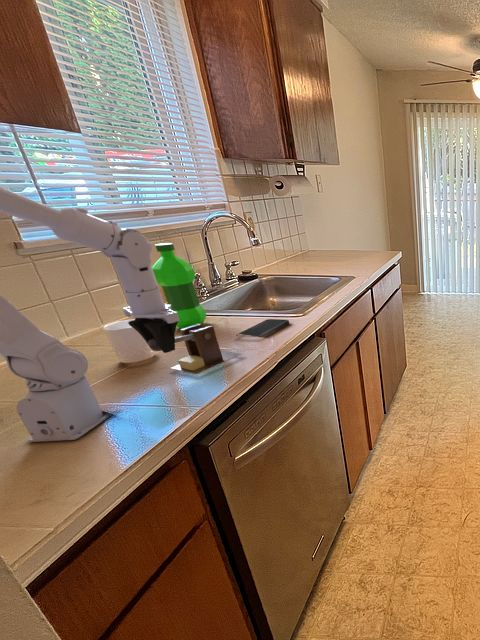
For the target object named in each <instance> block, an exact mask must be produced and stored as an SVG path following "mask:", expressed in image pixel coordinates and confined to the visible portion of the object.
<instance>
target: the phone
mask: <svg viewBox="0 0 480 640" xmlns="http://www.w3.org/2000/svg"><path fill="white" fill-rule="evenodd" d="M289 325H290V320H288V319H277V318H276V319H275V318H268V319H265V320H263V321H261V322H258V323H257V324H255V325H253V326H251V327H248V328H247V329H245V330H243V331H241V332H239V333H237V334H235V336H236V337H239V335H242V336H248V337H249V338H251V337H253V338H263V339H266V338H267V337H269V336H271V335H272V334H274V333H276V332H278V331H280V330H282V329H283V328H285V327H287V326H289Z"/></svg>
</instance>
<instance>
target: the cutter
mask: <svg viewBox="0 0 480 640" xmlns="http://www.w3.org/2000/svg"><path fill="white" fill-rule="evenodd" d="M200 329H201V328H200ZM195 330H198V329H195ZM195 330H190V331H189V333H190V334H189V335H184V336H182V335H179V336H175V344H176V343H180V342H181V343H182V342H184V341H186V340H191V341H195V339H194V336H193V333H192V332H193V331H195ZM148 345H149V347H150V348H151V349H152V350H154V352H163V351H162V350H161V348H160V346H159V344H158V342H157V340H156V339H155V337H153V338H151V339H150V340H149V342H148Z"/></svg>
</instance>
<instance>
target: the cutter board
mask: <svg viewBox="0 0 480 640" xmlns="http://www.w3.org/2000/svg"><path fill="white" fill-rule="evenodd" d="M200 328H201V329H200ZM195 329H198V330H195ZM190 330H195V331H193V332H192V333H193V336H194V339H195V341H191V340H186V341H183V342H184V345H185V348H186V350H187V354H188V356H193V355H194V356H199V357H201V358H203V360H204V363H205V366H203V367H200V368H198V369H196V370H189V369H184V368H180V365H179V364H177V365H174V366H172V367H171V369H173V370H176V371H181V372H186V373H191V374H195V375H196V374H197V375H198V374H200V373H202V372H205V371H207V370H209V369H211V368H213V367H216V366H218V365H221V364H223V363H225V362H227V361H229V360H232V359H235V358H237V357H239V356H241V355H242V353H239V352H234V351H228V350H223V349H221V348H220V344H219V342H218V339H217V334H216V332H215V328H214V326H213V325H208V326H205V327H203V326H202V324H196V325H193V326H190V327H187V328H184V329H182V328H180V333H181V336H184V335H189V334H190V333H189V331H190Z"/></svg>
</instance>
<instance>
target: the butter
mask: <svg viewBox="0 0 480 640" xmlns="http://www.w3.org/2000/svg"><path fill="white" fill-rule="evenodd" d="M177 363H178V365H180V368H184V369H189V370H196V369H198V368H200V367H203V366H205V363H204V360H203V358H201V357H199V356H194V355H193V356H189V355H187V356H185V357H182V358H180V359H177Z"/></svg>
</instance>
